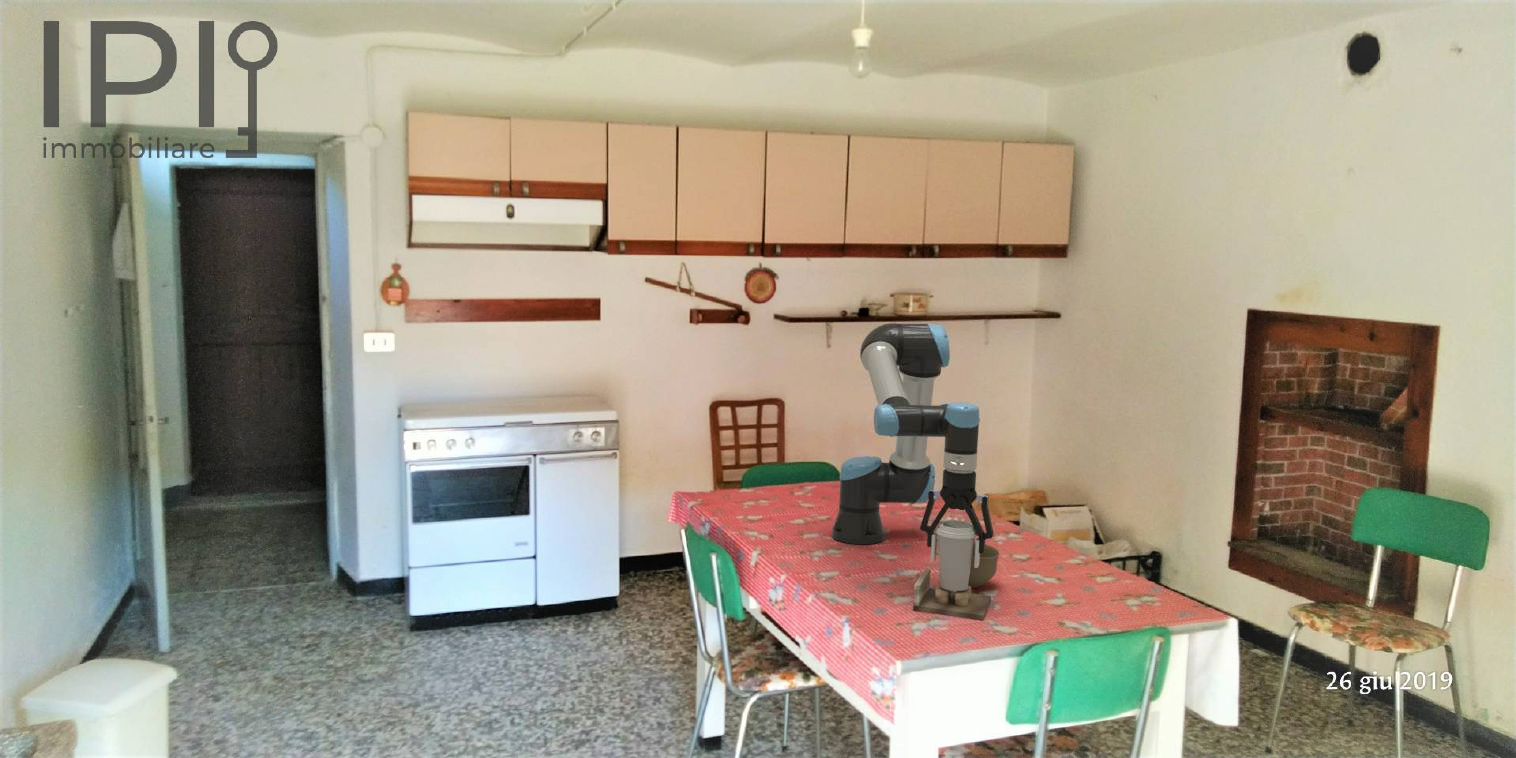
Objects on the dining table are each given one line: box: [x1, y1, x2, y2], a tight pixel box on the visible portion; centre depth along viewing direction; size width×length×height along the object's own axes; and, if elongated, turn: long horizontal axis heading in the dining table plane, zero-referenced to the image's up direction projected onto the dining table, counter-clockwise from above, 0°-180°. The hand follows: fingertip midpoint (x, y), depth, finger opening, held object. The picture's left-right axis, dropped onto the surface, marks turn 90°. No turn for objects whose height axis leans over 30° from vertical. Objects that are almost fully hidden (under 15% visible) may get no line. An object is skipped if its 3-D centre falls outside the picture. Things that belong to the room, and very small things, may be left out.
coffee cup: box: [935, 519, 978, 592], centre depth 238 cm, size 10×10×15 cm
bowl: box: [968, 541, 1000, 589], centre depth 254 cm, size 13×13×10 cm
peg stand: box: [912, 567, 992, 621], centre depth 239 cm, size 16×14×6 cm
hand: (954, 563), depth 238 cm, fingers closed on coffee cup, 9 cm apart
